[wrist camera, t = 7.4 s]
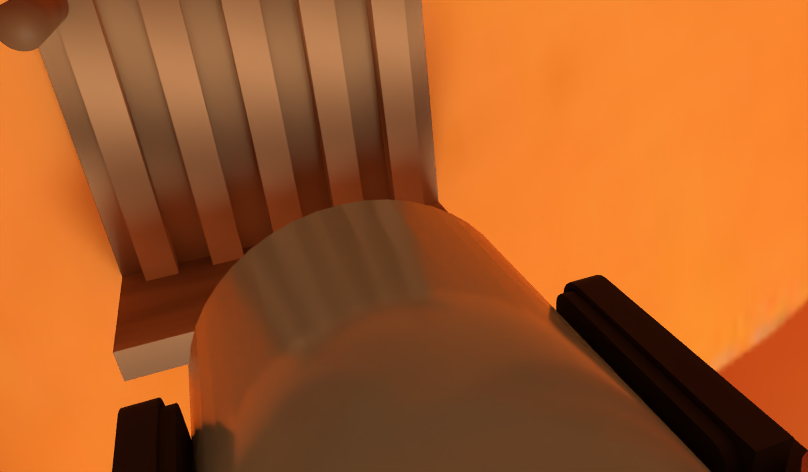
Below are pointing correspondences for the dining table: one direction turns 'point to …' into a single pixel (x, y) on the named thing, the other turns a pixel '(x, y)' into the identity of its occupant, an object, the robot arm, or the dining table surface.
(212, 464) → the grey green cylinder
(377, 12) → the rack
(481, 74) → the dining table surface
